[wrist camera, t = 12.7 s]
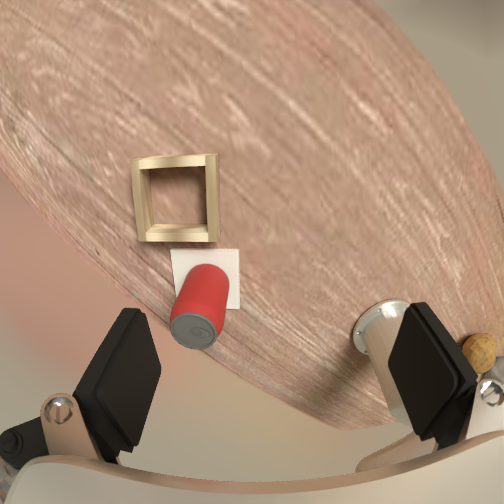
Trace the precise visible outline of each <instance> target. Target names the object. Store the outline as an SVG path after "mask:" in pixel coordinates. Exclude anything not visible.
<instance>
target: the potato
mask: <svg viewBox="0 0 504 504" xmlns="http://www.w3.org/2000/svg"><path fill="white" fill-rule="evenodd" d="M462 352H463V354H464V355H465V357H466V358H467V360H468V361H469V363H470V364H471V366H472V367H473V369H474V370H475V372H476V373H478V374H482V373H485V372H487V371H488V370H490V369H491V368H492V367H493V365H494V363H495V360H496V342H495V340H494V338H493V337H492V335H489V334H487V333H481V334H474V335H472V336H471V337H469V338H468V339H467V341H466V342H465V343H464V345H463V348H462Z"/></svg>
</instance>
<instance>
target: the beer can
mask: <svg viewBox="0 0 504 504" xmlns="http://www.w3.org/2000/svg"><path fill="white" fill-rule="evenodd" d="M229 288H230V284H229V279H228V276H227V274H226V273H225V272H224V271H223V270H222V269H221V268H219V267H218V266H216V265H213V264H200V265H196V266H195V267H193V268H192V269H191V270H190V271H189V272H188V274H187V276H186V278H185V281H184V283H183V285H182V287H181V290H180V292H179V294H178V297H177V299H176V301H175V304H174V306H173V308H172V311H171V316H170V321H171V326H170V330H171V334H172V336H173V337H174V339H175V340H176V341H177V342H178V343H179V344H181V345H183V346H185V347H187V348H190V349H198V350H200V349H205V348H208V347H210V346H212V345H213V343H214V342H215V341H216V338H217V337H218V336H219V335H220V333H221V331H222V328H223V324H224V318H225V312H226V306H227V300H228V294H229Z"/></svg>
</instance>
